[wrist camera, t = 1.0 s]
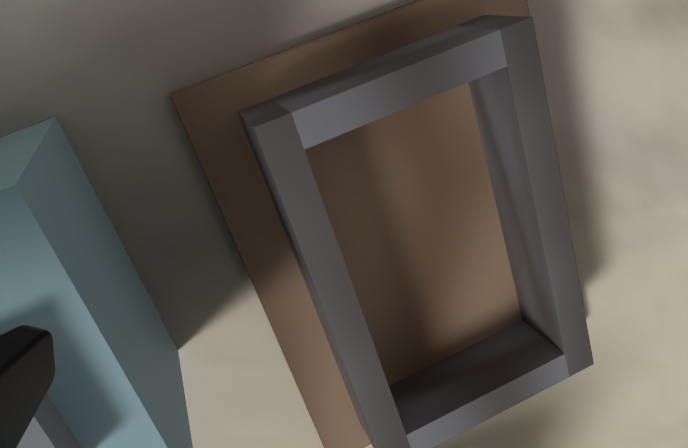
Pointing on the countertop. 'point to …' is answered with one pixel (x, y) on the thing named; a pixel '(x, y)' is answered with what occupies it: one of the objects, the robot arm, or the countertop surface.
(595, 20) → the countertop surface
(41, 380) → the robot arm
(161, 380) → the cabinet block
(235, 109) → the socket board
